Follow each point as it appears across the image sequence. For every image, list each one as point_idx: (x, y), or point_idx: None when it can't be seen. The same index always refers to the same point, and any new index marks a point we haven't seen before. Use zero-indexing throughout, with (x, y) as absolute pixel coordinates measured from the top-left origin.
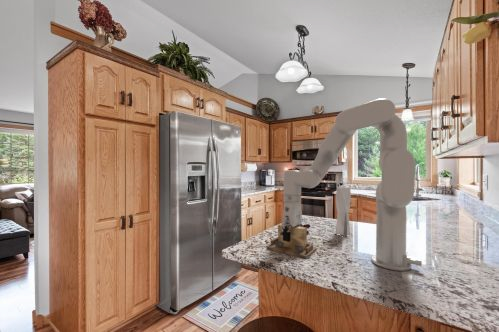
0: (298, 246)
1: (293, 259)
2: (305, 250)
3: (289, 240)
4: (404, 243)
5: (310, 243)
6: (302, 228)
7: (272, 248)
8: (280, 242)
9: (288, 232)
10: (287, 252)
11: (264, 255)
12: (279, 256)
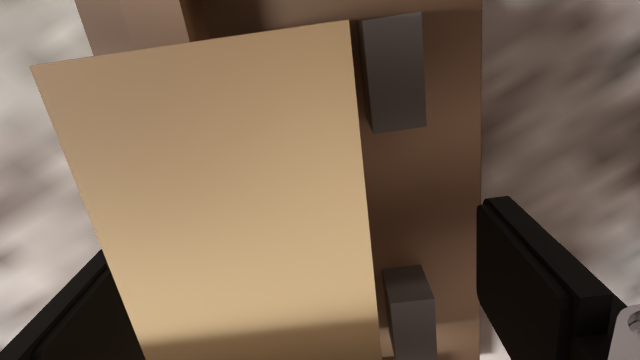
0: (395, 78)
1: (582, 9)
2: (289, 17)
3: (513, 208)
4: None
5: (124, 13)
6: (284, 133)
7: (478, 315)
8: (414, 319)
9: (600, 319)
10: (477, 156)
11: (636, 279)
12: (582, 171)
